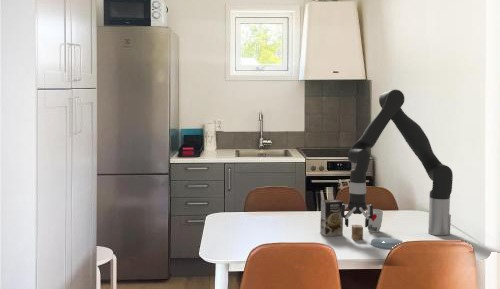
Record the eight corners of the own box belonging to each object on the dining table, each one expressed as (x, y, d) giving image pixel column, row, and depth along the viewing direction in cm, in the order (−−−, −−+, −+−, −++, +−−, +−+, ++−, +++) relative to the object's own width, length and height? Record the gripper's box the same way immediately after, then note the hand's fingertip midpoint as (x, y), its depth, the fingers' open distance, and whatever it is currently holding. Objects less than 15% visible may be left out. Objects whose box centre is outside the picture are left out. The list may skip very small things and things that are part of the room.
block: (361, 237, 260) (361, 225, 259) (362, 240, 255) (363, 227, 255) (351, 237, 260) (351, 224, 259) (352, 240, 256) (353, 227, 255)
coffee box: (325, 236, 262) (325, 202, 260) (319, 233, 268) (320, 199, 267) (343, 235, 264) (343, 201, 263) (337, 231, 271) (337, 198, 269)
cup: (361, 230, 273) (362, 210, 272) (372, 228, 278) (372, 208, 277) (375, 234, 266) (375, 213, 265) (385, 231, 272) (386, 210, 271)
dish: (400, 240, 255) (400, 237, 254) (406, 249, 241) (406, 246, 241) (368, 240, 255) (368, 237, 255) (373, 248, 241) (373, 245, 241)
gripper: (372, 190, 259) (371, 225, 261) (341, 190, 260) (340, 224, 262) (374, 193, 252) (373, 229, 253) (342, 193, 253) (341, 228, 254)
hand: (356, 226), depth 257 cm, fingers open, 8 cm apart
